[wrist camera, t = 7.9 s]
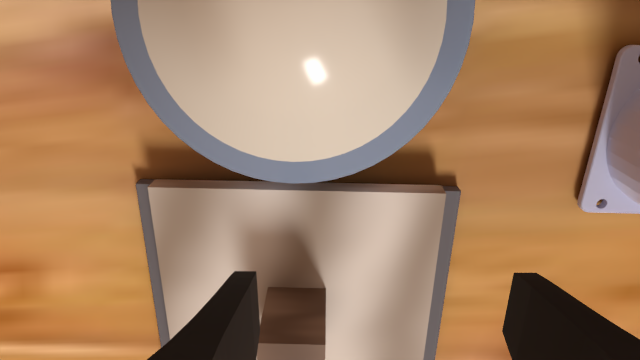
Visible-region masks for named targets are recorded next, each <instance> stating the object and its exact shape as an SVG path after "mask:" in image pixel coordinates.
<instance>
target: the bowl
mask: <svg viewBox="0 0 640 360" xmlns="http://www.w3.org/2000/svg"><path fill="white" fill-rule="evenodd" d="M474 8H475V0H111V9H112V16H113V21H114V26H115V30H116V35H117V39H118V42H119V45H120V48H121V51H122V54H123V57H124V60H125V62H126V65H127V67H128V69H129V71H130V73H131V75H132V77H133V79H134V81H135V83H136V85H137V87H138V88H139V90H140V91H141V93H142V95H143V96H144V98H145V99H146V101H147V103H148V104H149V105H150V107H151V108H152V109H153V110H154V112H155V113H156V114H157V115H158V117H159V118H160V119H161V120H162V122H163V123H164V124H165V125H166V126H167V127H168V128H169V129H170V130H171V131H172V132H173V133H174V134H175V135H176V136H177V137H178V138H180V139H181V140H182V141H183V142H185V143H186V144H187V145H189V146H190V147H191V148H192V149H194V150H195V151H196V152H198V153H200V154H201V155H203V156H204V157H206V158H208V159H209V160H211V161H212V162H214V163H216V164H218V165H221V166H223V167H225V168H227V169H229V170H231V171H234V172H237V173H240V174H243V175H246V176H249V177H252V178H256V179H261V180H266V181H271V182H280V183H292V184H296V183H316V182H322V181H328V180H334V179H338V178H341V177H345V176H348V175H352V174H355V173H357V172H359V171H362V170H364V169H366V168H369V167H371V166H373V165H375V164H377V163H378V162H380V161H382V160H384V159H385V158H387V157H389V156H390V155H392V154H393V153H395V152H396V151H397V150H399V149H400V148H401V147H403V146H404V145H405V144H407V143H408V142H409V141H410V140H411V139H412V138H413V137H414V136H415V135H416V134H417V133H418V132H419V131H420V130H421V129H422V128H424V126H425V125H426V124H427V123H428V121H429V120H430V119H431V118H432V117H433V115H434V114H435V113H436V112H437V110H438V109H439V107H440V106H441V104H442V103H443V101H444V100H445V98H446V96H447V95H448V93H449V92H450V90H451V88H452V86H453V84H454V82H455V80H456V77H457V75H458V73H459V71H460V69H461V66H462V63H463V60H464V57H465V54H466V51H467V48H468V45H469V40H470V35H471V30H472V25H473V20H474Z"/></svg>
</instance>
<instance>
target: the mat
mask: <svg viewBox="0 0 640 360" xmlns="http://www.w3.org/2000/svg"><path fill="white" fill-rule="evenodd" d="M154 180H155V179H140V180H139V181H138V182H137V183H136V189H137V195H138V201H139V208H140V214H141V221H142V227H143V233H144V240H145V246H146V253H147V259H148V265H149V272H150V278H151V285H152V291H153V297H154V304H155V310H156V317H157V323H158V330H159V336H160V342H161V348H162V347H163V346H164V345H165V344H166V343H167V342H168V341H170V336H169V329H168V322H167V315H166V309H165V302H164V295H163V288H162V281H161V275H160V268H159V261H158V254H157V248H156V241H155V234H154V227H153V220H152V214H151V207H150V200H149V193H148V186H149V185H150V184H151V183H152V182H153V181H154ZM442 187H443V189H444V191H445V192H446V199H445V206H444V213H443V221H442V228H441V235H440V242H439V250H438V257H437V264H436V271H435V278H434V286H433V293H432V300H431V307H430V315H429V322H428V329H427V336H426V344H425V351H424V358H423V360H435V355H436V349H437V343H438V336H439V330H440V323H441V317H442V310H443V304H444V297H445V291H446V284H447V278H448V271H449V265H450V258H451V252H452V245H453V239H454V232H455V226H456V219H457V213H458V207H459V200H460V194H461V191H460V189H459V188H458V187H457V186H442Z"/></svg>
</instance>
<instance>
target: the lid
mask: <svg viewBox="0 0 640 360" xmlns="http://www.w3.org/2000/svg"><path fill="white" fill-rule="evenodd" d="M148 193H149V200H150V207H151V214H152V220H153V227H154V234H155V241H156V248H157V254H158V261H159V268H160V275H161V281H162V288H163V295H164V302H165V309H166V315H167V322H168V329H169V336H170V340H171V339H172V338H173V337H174V336H175V335H176V334H177V333H178V332H179V331H180V330H181V329H182V328H183V327H184V326H185V325H186V324H187V323H188V322H189V321H190V320H191V319H192V318H193V317H194V316H195V315H196V314H197V313H198V312H199V311H200V310H201V309H202V308H203V306H204V305H205V304H206V303H207V302H208V301H209V300H210V299H211V298H212V296H213V295H214V294H215V293H216V292H217V291H218V290H219V288H220V287H221V286H222V285H223V284H224V282H225V281H226V280H227V279H228V278H229V276H230V275H231V274H232V273H233V272H234V271H256V274H257V289H258V303H259V318H260V335H259V343H258V350H257V357H256V360H423V358H424V351H425V344H426V336H427V329H428V322H429V315H430V307H431V300H432V293H433V286H434V278H435V271H436V264H437V257H438V250H439V242H440V235H441V228H442V221H443V213H444V206H445V199H446V192H445V191H444V189H443V187H442V186H441V185H411V184H363V183H296V184H292V183H280V182H269V181H222V180H175V179H155V180H154V181H153V182H152V183H151V184H150V185H149V186H148Z"/></svg>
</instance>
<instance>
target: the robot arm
mask: <svg viewBox="0 0 640 360" xmlns="http://www.w3.org/2000/svg"><path fill="white" fill-rule="evenodd" d="M639 56H640V45H627V46H625V47H623V48H622V49H621V50H620V51H619V52H618V54H617V56H616V60H615V63H614V67H613V71H612V75H611V78H610V82H609V86H608V90H607V93H606V97H605V101H604V104H603V108H602V112H601V116H600V119H599V123H598V127H597V130H596V134H595V138H594V142H593V145H592V149H591V153H590V156H589V160H588V164H587V168H586V171H585V175H584V179H583V183H582V186H581V190H580V194H579V197H578V206H579V207H580V208H581V209H582V210H583V211H585V212H596V213H638V214H640V62H639V61H638V57H639ZM601 199H603V201H602V203H601V204H599V205H596V203H597V202H598V201H599V200H601ZM502 332H503V335H504V337H505V340H506V343H507V346H508V349H509V352H510V355H511V357H512V360H640V339H638V338H636V337H635V336H633V335H631V334H630V333H628V332H626V331H625V330H623V329H621V328H620V327H618V326H617V325H615V324H613V323H612V322H610V321H609V320H607V319H606V318H604V317H603V316H601V315H600V314H598V313H597V312H595V311H593V310H592V309H590V308H589V307H587V306H586V305H585V304H583V303H582V302H580V301H579V300H577V299H576V298H574V297H573V296H571V295H570V294H568V293H567V292H565V291H564V290H562V289H561V288H559V287H558V286H556V285H555V284H553V283H552V282H550V281H549V280H547V279H545V278H544V277H542V276H540V275H539V274H537V273H514V275H513V280H512V285H511V290H510V295H509V300H508V305H507V310H506V315H505V320H504V325H503V330H502ZM259 335H260V318H259V303H258V289H257V274H256V271H234V272H233V273H232V274H231V275H230V276H229V278H228V279H227V280H226V281H225V282H224V284H223V285H222V286H221V287H220V288H219V290H218V291H217V292H216V293H215V294H214V295H213V296H212V298H211V299H210V300H209V301H208V302H207V303H206V304H205V305H204V306H203V308H202V309H201V310H200V311H199V312H198V313H197V314H196V315H195V316H194V317H193V318H192V319H191V320H190V321H189V322H188V323H187V324H186V325H185V326H184V327H183V328H182V329H181V330H180V331H179V332H178V333H177V334H176V335H175V336H174V337H173V338H172V339H171V340H170V341H168V342H167V343H166V344H165V345H164V346H163V347H162V348H161V349H159V350H158V351H157V352H156V353H155V354H153V355H152V356H151V357H150V358H148V359H147V360H256V357H257V350H258V343H259Z"/></svg>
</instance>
